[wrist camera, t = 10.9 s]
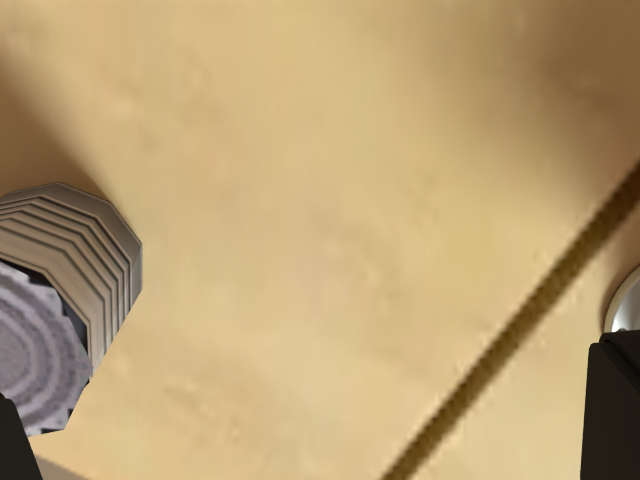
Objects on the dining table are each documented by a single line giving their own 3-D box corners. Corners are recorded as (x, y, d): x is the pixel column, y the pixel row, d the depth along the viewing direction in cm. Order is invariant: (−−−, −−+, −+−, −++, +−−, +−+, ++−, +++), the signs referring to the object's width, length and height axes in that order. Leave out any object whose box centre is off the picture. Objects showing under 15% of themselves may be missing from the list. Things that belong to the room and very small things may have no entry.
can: (119, 351, 43) (54, 473, 32) (-37, 296, 41) (-164, 406, 30) (169, 220, 39) (116, 306, 28) (0, 152, 37) (-130, 216, 26)
